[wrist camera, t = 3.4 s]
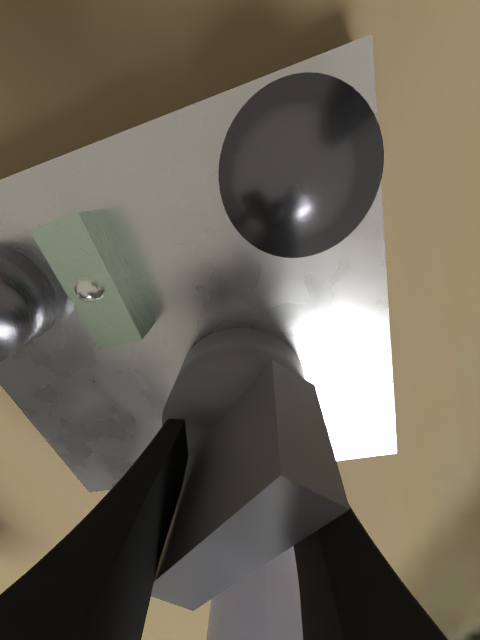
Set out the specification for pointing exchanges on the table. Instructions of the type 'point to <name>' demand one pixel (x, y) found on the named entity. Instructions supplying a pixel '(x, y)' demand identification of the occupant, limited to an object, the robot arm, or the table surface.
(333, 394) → the plate
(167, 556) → the knob
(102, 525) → the robot arm
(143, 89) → the table surface
